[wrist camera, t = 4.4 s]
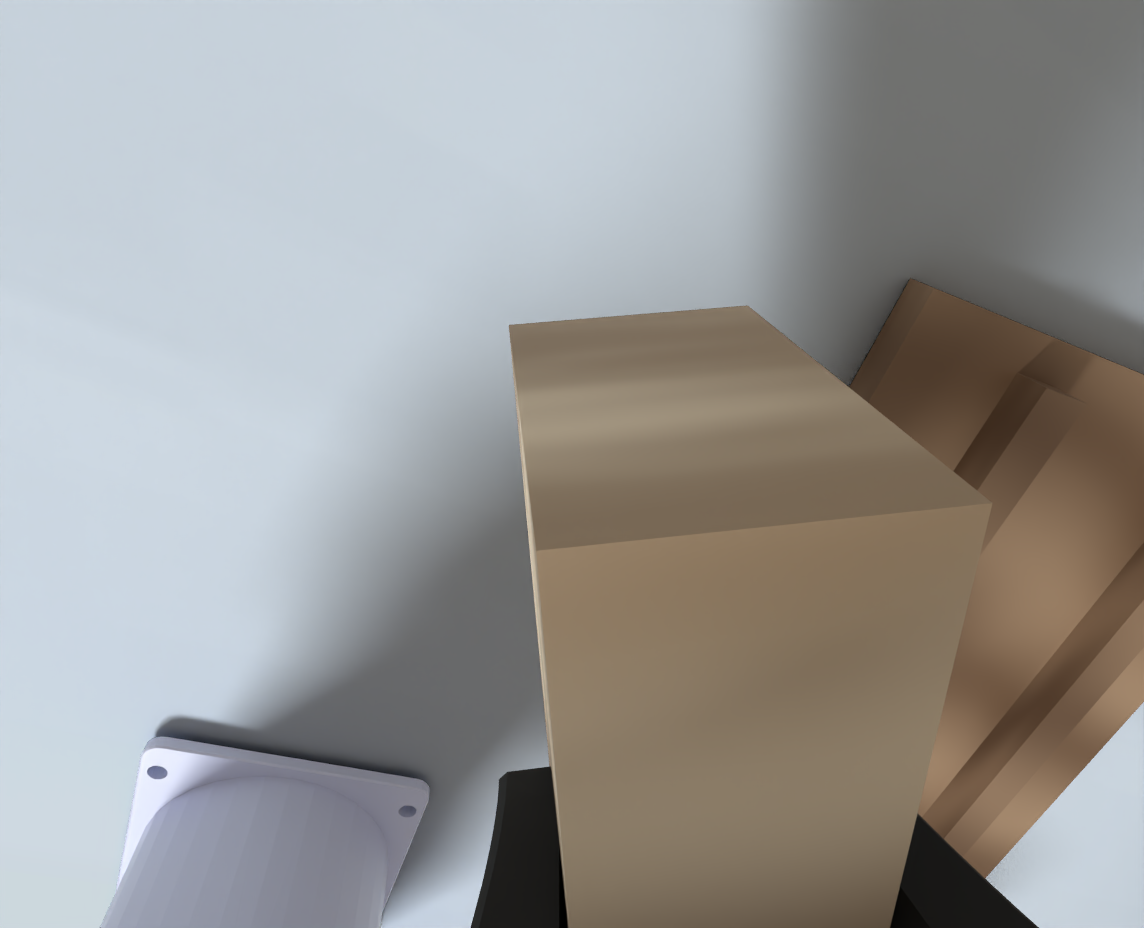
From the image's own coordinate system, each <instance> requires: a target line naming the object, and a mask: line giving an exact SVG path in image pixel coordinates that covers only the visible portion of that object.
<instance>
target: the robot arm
mask: <svg viewBox="0 0 1144 928" xmlns="http://www.w3.org/2000/svg"><path fill="white" fill-rule="evenodd" d="M158 766H161V767H164V768H161V767H158ZM429 790H430V788H429V786H428V784H427V783H426V782H424V781H423V780H420V779H416V778H410V777H404V776H398V775H392V774H386V773H380V772H375V771H369V770H363V769H357V768H351V767H345V766H339V765H333V764H327V763H321V762H315V761H309V760H303V759H297V758H291V757H285V756H279V755H273V754H267V753H261V752H255V751H249V750H243V749H237V748H231V747H225V746H219V745H213V744H207V743H201V742H195V741H189V740H183V739H177V738H171V737H157V738H153V739H151V740H150V741H148V742H147V744H146V746H145V748H144V750H143V752H142V754H141V757H140V762H139V768H138V773H137V779H136V784H135V789H134V795H133V800H132V806H131V811H130V816H129V822H128V827H127V833H126V838H125V843H124V849H123V854H122V860H121V865H120V870H119V876H118V881H117V887H116V892H115V895H114V897H113V900H112V902H111V904H110V906H109V908H108V911H107V913H106V915H105V917H104V919H103V922H102V924H101V926H100V928H381V920H382V912H383V910H384V908H385V905H386V903H387V900H388V898H389V895H390V893H391V891H392V888H393V886H394V883H395V881H396V879H397V876H398V874H399V871H400V869H401V866H402V864H403V862H404V859H405V857H406V854H407V852H408V850H409V847H410V845H411V842H412V840H413V838H414V835H415V833H416V830H417V828H418V825H419V823H420V821H421V818H422V816H423V813H424V811H425V809H426V806H427V804H428V801H429ZM405 805H410V806H405ZM471 928H567V923H566V912H565V901H564V890H563V879H562V868H561V857H560V845H559V835H558V826H557V817H556V807H555V798H554V789H553V780H552V771H551V767H544V768H536V769H528V770H520V771H512V772H507V773H506V774H505V775H503V776H502V777H501V778H500V779H499V791H498V803H497V810H496V817H495V824H494V830H493V836H492V841H491V846H490V851H489V856H488V860H487V865H486V869H485V874H484V879H483V883H482V887H481V891H480V894H479V898H478V902H477V906H476V910H475V913H474V917H473V921H472V925H471ZM890 928H1039V927H1037V926H1036V925H1035V924H1034V923H1033V922H1032V921H1031V920H1030V919H1028V918H1027V917H1026V916H1025V915H1024V914H1023V913H1022V912H1021V911H1019V910H1018V909H1017V908H1016V907H1015V906H1014V905H1013V904H1012V903H1011V902H1010V901H1009V900H1008V899H1006V898H1005V897H1004V896H1003V895H1002V894H1001V893H1000V892H999V891H998V890H997V889H996V888H994V887H993V886H992V885H991V884H990V883H989V882H988V881H987V880H986V879H985V878H984V877H983V876H982V875H981V874H980V873H979V872H978V871H977V870H976V869H975V868H973V867H972V866H971V865H970V864H969V863H968V862H967V861H966V860H965V859H964V858H963V857H962V856H961V855H960V854H959V853H958V852H957V851H956V850H955V849H954V848H953V847H951V846H950V845H949V844H948V843H947V842H946V841H945V840H944V839H943V838H942V837H941V836H940V835H939V834H938V833H937V832H936V831H935V830H934V829H933V828H932V827H931V826H930V825H929V824H928V823H927V822H926V821H925V820H924V819H923V818H922V817H921V816H920V815H919V814H918V813H917V818H916V822H915V826H914V830H913V834H912V838H911V842H910V846H909V851H908V855H907V859H906V863H905V867H904V871H903V875H902V880H901V884H900V888H899V892H898V896H897V900H896V904H895V909H894V913H893V917H892V921H891V925H890Z"/></svg>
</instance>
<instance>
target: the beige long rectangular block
mask: <svg viewBox="0 0 1144 928" xmlns="http://www.w3.org/2000/svg"><path fill="white" fill-rule="evenodd" d="M509 332H510V343H511V354H512V365H513V376H514V386H515V397H516V408H517V419H518V430H519V440H520V451H521V462H522V473H523V484H524V495H525V505H526V516H527V527H528V538H529V549H530V559H531V570H532V581H533V592H534V603H535V614H536V624H537V635H538V646H539V657H540V668H541V678H542V689H543V700H544V711H545V722H546V732H547V743H548V754H549V765H550V767H551V771H552V780H553V789H554V798H555V807H556V817H557V826H558V835H559V845H560V857H561V868H562V879H563V890H564V901H565V912H566V923H567V928H890V925H891V921H892V917H893V913H894V909H895V904H896V900H897V896H898V892H899V888H900V884H901V880H902V875H903V871H904V867H905V863H906V859H907V855H908V851H909V846H910V842H911V838H912V834H913V830H914V826H915V822H916V818H917V813H918V809H919V805H920V801H921V797H922V793H923V789H924V784H925V780H926V776H927V772H928V768H929V764H930V760H931V756H932V751H933V747H934V743H935V739H936V735H937V731H938V727H939V722H940V718H941V714H942V710H943V706H944V702H945V698H946V693H947V689H948V685H949V681H950V677H951V673H952V669H953V665H954V660H955V656H956V652H957V648H958V644H959V640H960V636H961V631H962V627H963V623H964V619H965V615H966V611H967V607H968V603H969V598H970V594H971V590H972V586H973V582H974V578H975V574H976V569H977V565H978V561H979V557H980V553H981V549H982V545H983V540H984V536H985V532H986V528H987V524H988V520H989V516H990V512H991V507H992V502H991V501H989V500H988V499H987V498H986V497H984V496H983V495H982V494H981V493H979V492H978V491H977V490H976V489H974V488H973V487H972V486H971V485H969V484H968V483H967V482H966V481H965V480H963V479H962V478H961V477H960V476H958V475H957V474H956V473H955V472H953V471H952V470H951V469H950V468H948V467H947V466H946V465H945V464H943V463H942V462H941V461H940V460H938V459H937V458H936V457H935V456H934V455H932V454H931V453H930V452H929V451H927V450H926V449H925V448H924V447H922V446H921V445H920V444H919V443H917V442H916V441H915V440H914V439H912V438H911V437H910V436H909V435H907V434H906V433H905V432H904V431H903V430H901V429H900V428H899V427H898V426H896V425H895V424H894V423H893V422H891V421H890V420H889V419H888V418H886V417H885V416H884V415H883V414H881V413H880V412H879V411H878V410H876V409H875V408H874V407H873V406H871V405H870V404H869V403H868V402H867V401H865V400H864V399H863V398H862V397H860V396H859V395H858V394H857V393H855V392H854V391H853V390H852V389H850V388H849V387H848V386H847V385H845V384H844V383H843V382H842V381H840V380H839V379H838V378H837V377H836V376H834V375H833V374H832V373H831V372H829V371H828V370H827V369H826V368H824V367H823V366H822V365H821V364H819V363H818V362H817V361H816V360H814V359H813V358H812V357H811V356H809V355H808V354H807V353H806V352H805V351H803V350H802V349H801V348H800V347H798V346H797V345H796V344H795V343H793V342H792V341H791V340H790V339H788V338H787V337H786V336H785V335H783V334H782V333H781V332H780V331H778V330H777V329H776V328H775V327H773V326H772V325H771V324H770V323H769V322H767V321H766V320H765V319H764V318H762V317H761V316H760V315H759V314H757V313H756V312H755V311H754V310H752V309H751V308H750V307H749V306H736V307H724V308H711V309H699V310H687V311H675V312H662V313H650V314H638V315H625V316H613V317H601V318H589V319H576V320H564V321H552V322H539V323H527V324H515V325H509Z"/></svg>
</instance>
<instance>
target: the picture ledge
mask: <svg viewBox="0 0 1144 928" xmlns="http://www.w3.org/2000/svg"><path fill="white" fill-rule="evenodd" d="M849 388H850V389H852V390H853V391H854V392H855V393H857V394H858V395H859V396H860V397H862V398H863V399H864V400H865V401H867V402H868V403H869V404H870V405H871V406H873V407H874V408H875V409H876V410H878V411H879V412H880V413H881V414H883V415H884V416H885V417H886V418H888V419H889V420H890V421H891V422H893V423H894V424H895V425H896V426H898V427H899V428H900V429H901V430H903V431H904V432H905V433H906V434H907V435H909V436H910V437H911V438H912V439H914V440H915V441H916V442H917V443H919V444H920V445H921V446H922V447H924V448H925V449H926V450H927V451H929V452H930V453H931V454H932V455H934V456H935V457H936V458H937V459H938V460H940V461H941V462H942V463H943V464H945V465H946V466H947V467H948V468H950V469H951V470H952V471H953V472H955V473H956V474H957V475H958V476H960V477H961V478H962V479H963V480H965V481H966V482H967V483H968V484H969V485H971V486H972V487H973V488H974V489H976V490H977V491H978V492H979V493H981V494H982V495H983V496H984V497H986V498H987V499H988V500H989V501H991V502H992V507H991V512H990V516H989V520H988V524H987V528H986V532H985V536H984V540H983V545H982V549H981V553H980V557H979V561H978V565H977V569H976V574H975V578H974V582H973V586H972V590H971V594H970V598H969V603H968V607H967V611H966V615H965V619H964V623H963V627H962V631H961V636H960V640H959V644H958V648H957V652H956V656H955V660H954V665H953V669H952V673H951V677H950V681H949V685H948V689H947V693H946V698H945V702H944V706H943V710H942V714H941V718H940V722H939V727H938V731H937V735H936V739H935V743H934V747H933V751H932V756H931V760H930V764H929V768H928V772H927V776H926V780H925V784H924V789H923V793H922V797H921V801H920V805H919V809H918V814H919V815H920V816H921V817H922V818H923V819H924V820H925V821H926V822H927V823H928V824H929V825H930V826H931V827H932V828H933V829H934V830H935V831H936V832H937V833H938V834H939V835H940V836H941V837H942V838H943V839H944V840H945V841H946V842H947V843H948V844H949V845H950V846H951V847H953V848H954V849H955V850H956V851H957V852H958V853H959V854H960V855H961V856H962V857H963V858H964V859H965V860H966V861H967V862H968V863H969V864H970V865H971V866H972V867H973V868H975V869H976V870H977V871H978V872H979V873H980V874H981V875H982V876H983V877H984V878H986V877H987V876H988V874H989V873H990V872H991V871H992V870H993V869H994V868H995V867H996V866H997V864H998V863H999V862H1000V861H1001V860H1002V859H1003V858H1004V857H1005V856H1006V854H1007V853H1008V852H1009V851H1010V850H1011V849H1012V848H1013V847H1014V845H1015V844H1016V843H1017V842H1018V841H1019V840H1020V839H1021V838H1022V837H1023V835H1024V834H1025V833H1026V832H1027V831H1028V830H1029V829H1030V828H1031V827H1032V825H1033V824H1034V823H1035V822H1036V821H1037V820H1038V819H1039V818H1040V817H1041V815H1042V814H1043V813H1044V812H1045V811H1046V810H1047V809H1048V808H1049V807H1050V805H1051V804H1052V803H1053V802H1054V801H1055V800H1056V799H1057V798H1058V797H1059V795H1060V794H1061V793H1062V792H1063V791H1064V790H1065V789H1066V788H1067V786H1068V785H1069V784H1070V783H1071V782H1072V781H1073V780H1074V779H1075V778H1076V776H1077V775H1078V774H1079V773H1080V772H1081V771H1082V770H1083V769H1084V768H1085V766H1086V765H1087V764H1088V763H1089V762H1090V761H1091V760H1092V759H1093V758H1094V756H1095V755H1096V754H1097V753H1098V752H1099V751H1100V750H1101V749H1102V748H1103V746H1104V745H1105V744H1106V743H1107V742H1108V741H1109V740H1110V739H1111V738H1112V736H1113V735H1114V734H1115V733H1116V732H1117V731H1118V730H1119V729H1120V727H1121V726H1122V725H1123V724H1124V723H1125V722H1126V721H1127V720H1128V719H1129V717H1130V716H1131V715H1132V714H1133V713H1134V712H1135V711H1136V710H1137V709H1138V707H1139V706H1140V705H1141V704H1142V703H1143V702H1144V374H1141V373H1139V372H1136V371H1134V370H1132V369H1129V368H1127V367H1124V366H1122V365H1119V364H1117V363H1115V362H1112V361H1110V360H1107V359H1105V358H1103V357H1100V356H1098V355H1095V354H1093V353H1090V352H1088V351H1086V350H1083V349H1081V348H1078V347H1076V346H1073V345H1071V344H1069V343H1066V342H1064V341H1061V340H1059V339H1057V338H1054V337H1052V336H1049V335H1047V334H1044V333H1042V332H1040V331H1037V330H1035V329H1032V328H1030V327H1028V326H1025V325H1023V324H1020V323H1018V322H1015V321H1013V320H1011V319H1008V318H1006V317H1003V316H1001V315H999V314H996V313H994V312H991V311H989V310H986V309H984V308H982V307H979V306H977V305H974V304H972V303H969V302H967V301H965V300H962V299H960V298H957V297H955V296H953V295H950V294H948V293H945V292H943V291H940V290H938V289H936V288H933V287H931V286H928V285H926V284H924V283H921V282H919V281H916V280H914V279H911V278H910V280H909V281H908V283H907V285H906V287H905V289H904V290H903V292H902V294H901V296H900V298H899V299H898V301H897V303H896V305H895V306H894V308H893V310H892V312H891V314H890V315H889V317H888V319H887V321H886V323H885V324H884V326H883V328H882V330H881V331H880V333H879V335H878V337H877V339H876V340H875V342H874V344H873V346H872V348H871V349H870V351H869V353H868V355H867V356H866V358H865V360H864V362H863V364H862V365H861V367H860V369H859V371H858V373H857V374H856V376H855V378H854V380H853V381H852V383H851V385H850V387H849Z"/></svg>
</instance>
